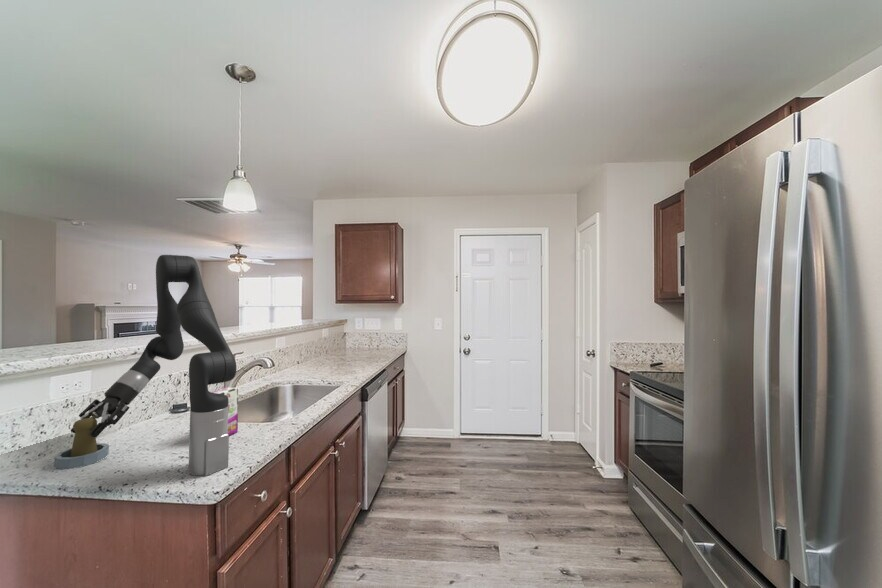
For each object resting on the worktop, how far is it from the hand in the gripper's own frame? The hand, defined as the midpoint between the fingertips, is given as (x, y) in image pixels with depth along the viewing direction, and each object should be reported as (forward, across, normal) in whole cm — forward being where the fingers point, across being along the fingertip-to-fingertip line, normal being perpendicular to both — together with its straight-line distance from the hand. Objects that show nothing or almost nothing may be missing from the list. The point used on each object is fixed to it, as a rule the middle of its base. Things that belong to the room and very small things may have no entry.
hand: (82, 434), depth 105 cm
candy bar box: (-13, +23, +24) cm, 36 cm away
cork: (+4, -1, +6) cm, 7 cm away
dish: (+5, 0, +6) cm, 8 cm away
